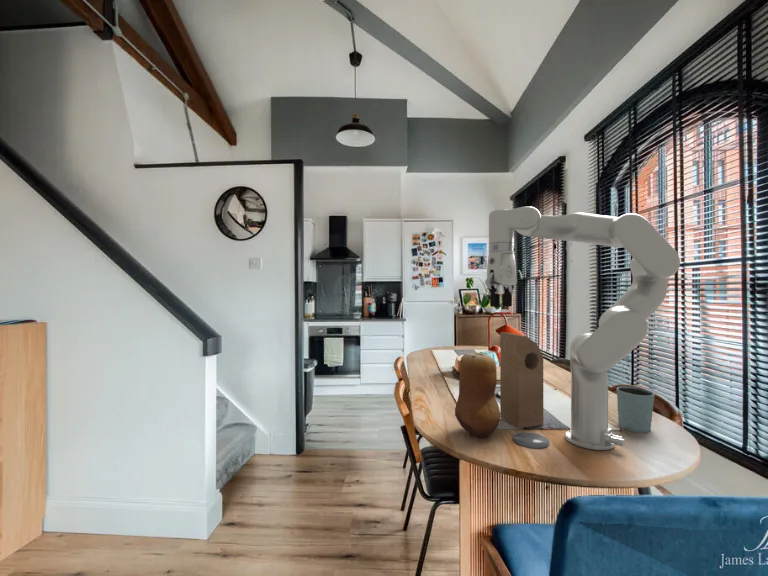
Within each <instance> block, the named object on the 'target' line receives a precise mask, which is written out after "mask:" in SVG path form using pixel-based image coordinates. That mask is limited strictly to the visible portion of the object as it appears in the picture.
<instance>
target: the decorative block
mask: <svg viewBox="0 0 768 576" xmlns="http://www.w3.org/2000/svg"><path fill="white" fill-rule="evenodd" d="M499 335H500V336H499V337H500V340H499V341H500V344H499V345H500V347H499V348H500V357H499V358H500V359H499V360H500V361H499V363H500V366H499V368H500V369H499V371H500V375H499V376H500V377H499V378H500V379H499V380H500V381H499V383H500V385H499V386H500V387H499V389H500V394H499V396H500V397H499V398H500V400H499V403H500V406H499V410H500V420H503V421H504V420H505V422H506V421H507V422H506V423H508V424H510V425H511V424H512V425H511V426H513V425H514V426H513V427H515V428H517V429H525V427H526V428H533V426H534V427H539V425H541V426H544V355H543V354H542V351H541V350H540V349H541V348H540V347H539V345H538V344H537V342H535V341H534V340H532V339H531V338H529V337H528V336H527V335H521V334H517V333H511V332H506V331H505V332H504V331H501V332H500V334H499Z"/></svg>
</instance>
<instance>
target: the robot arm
mask: <svg viewBox="0 0 768 576" xmlns="http://www.w3.org/2000/svg"><path fill="white" fill-rule="evenodd" d="M514 231H516V232H517V233H518V234H519V235H522V236H526V237H531V238H532V237H533V238H537V239H538V238H540V239H545V240H557V241H558V240H559V241H566V242H577V243H583V244H592V245H598V246H605V247H611V248H620V249H621V248H624V249H625V250H626V252H627V253H629V255H630V256H631V257H632V259H631V260H630V264H629V267H630V268H629V269H630V272H631V275H632V283H631V285H630V286H629V288H628V290H626V292H625V293H624V294H623V295H622V296H621V297H619V298H618V299H617V300H616V302H614V303H613V304H612V305H611V306H610V307H609V308H608V309H607V310H606V311H604V312H603V313H602V314H601V316H600V317H599V320H598V327H597V329H596V330H594V331H593V332H592V333H589V332H588V333H587V332H586V333H581V334H579V335H577V336H576V337H574V338H573V339H572V341H571V343H570V346H569V363H570V430H567V431H566V432H565V433H564V434H565V435H564V437H565V439H566V440H567V441H568V442H569V443H570V444H573V445H574V446H577V447H581V448H584V449H588V450H595V451H607V450H608V451H609V450H612V449H614V448H615V445H616V446H619V447H625V443H626V442H625V441H626V440H625V439H624V438H623V436H620V435H616V434H614V433H613V429H612V428H610V427H609V373H608V371H610V370H611V369H613V368H614V367H615V366H616V365H618V364H619V363H620V362H621V361H622V360H624V359H625V357H626V356H628V355H629V354H630V353H631V352H632V351H633V350H634V349H635V348H637V347H638V346H639V345H640V344H641V343H642V342H643V341H644V339H645V338H646V335H647V333H648V331H649V326H648V321H647V319H649V318H650V317H651V316H652V314H654V312H656V310H657V309H658V308H659V307H660V306H661V305H662V304H663V302H664V300H665V298H666V296H667V293H668V278H670V277H672V276H674V275H675V274H676V273H677V272H678V271H679V269H680V265H681V259H680V255H679V254H678V252H677V251H676V249H675V248H674V247H673V246H672V245H671V244H670V243H669V242H668V240H667V239H666V238H665V237H664V236H663V235H662V234H661V233H660V232H659V231H658V230H657V228H655V226H654V225H653V224H652V223H651V222H650V221H649V220H648V219H646V218H645V217H644V216H643V215H640V214H638V213H633V212H630V213H628V212H627V213H625V214H622V215H620V216H613V215H605V214H604V215H603V214H594V213H587V212H573V213H569V214H563V215H545V214H541V213H540V211H539V209H537V208H536V207H534V206H532V205H531V206H530V205H529V206H520V207H516V208H512V209H511V208H510V209H504V208H503V209H501V208H500V209H495V210H491V211H490V213H489V215H488V256H487V257H488V258H487V267H486V279H485V281H484V283H485V285H486V287H487V290H488V294H489V298H490V299H489V306H490V307H494V308H500V306H501V305H502V306H503V307H512V306H513V292H514V289H515V286H516V284H517V282H518V281H517V263H516V257H515V256H516V255H515V254H514V253H515V252H514V247H515V246H514V245H515V244H514V241H515V239H514V238H515V237H514V234H515V232H514ZM500 288H502V292H503V293H502V294H500Z"/></svg>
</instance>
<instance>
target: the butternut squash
mask: <svg viewBox="0 0 768 576" xmlns="http://www.w3.org/2000/svg"><path fill="white" fill-rule="evenodd" d="M497 372H498V371H497V362H496V361H495V359H494V358H493V357H492V356H490V355H488V354H487V353H483V352H466V353H464V354H463V355H462V356H461V358H460V361H459V376H458V377H459V380H458V381H459V382H458V384H459V385H458V397H457V401H456V403H455V408H454V416H455V419H456V420H457V421H458V423H459V425H460V426H461V427H462V429H463V430H465V431H466V432H468V433H469V434H471V436H473V437H476V438H482V437H487V436H488V437H489V436H490V435H491V434H493V433H494V431H495V430H496V429H497V428H498V426H499V425H500V421H501V418H500V406H499V403H498V401H497V398H496V396H495V393H496V387H497V382H498V377H497V376H498V375H497V374H498V373H497Z"/></svg>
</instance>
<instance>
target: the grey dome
mask: <svg viewBox="0 0 768 576" xmlns="http://www.w3.org/2000/svg"><path fill="white" fill-rule="evenodd" d="M512 440H513V442H514V443H515V444H517V445H519V446H521V447H524V448H525V447H526V448H530V449H546V448H548V447H549V446H550V445H551V444H550V440H549V439H548V438H547V437H546V436H545V435H542V434H540V433H535V432H527V431H523V432H522V431H521V432H516V433H514V434H513V436H512Z"/></svg>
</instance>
